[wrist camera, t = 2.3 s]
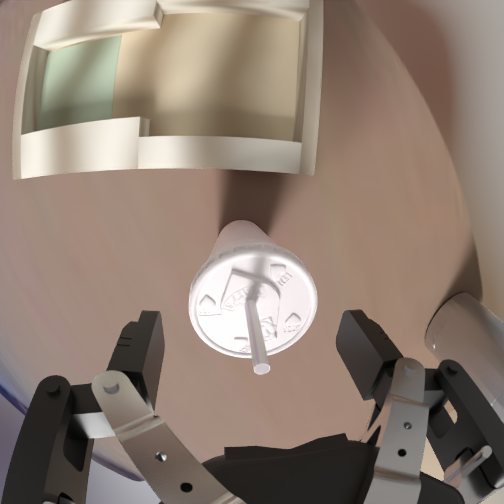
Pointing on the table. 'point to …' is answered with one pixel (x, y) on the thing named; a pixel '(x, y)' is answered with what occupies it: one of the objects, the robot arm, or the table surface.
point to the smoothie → (251, 296)
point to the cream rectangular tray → (170, 86)
